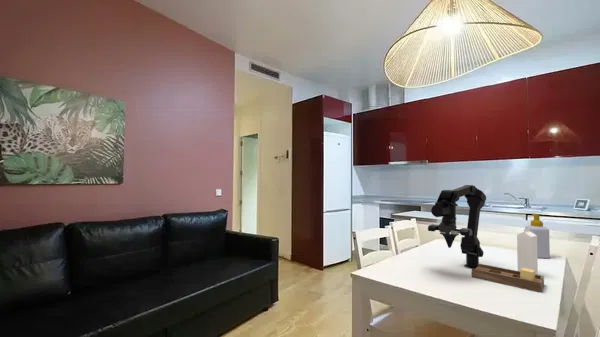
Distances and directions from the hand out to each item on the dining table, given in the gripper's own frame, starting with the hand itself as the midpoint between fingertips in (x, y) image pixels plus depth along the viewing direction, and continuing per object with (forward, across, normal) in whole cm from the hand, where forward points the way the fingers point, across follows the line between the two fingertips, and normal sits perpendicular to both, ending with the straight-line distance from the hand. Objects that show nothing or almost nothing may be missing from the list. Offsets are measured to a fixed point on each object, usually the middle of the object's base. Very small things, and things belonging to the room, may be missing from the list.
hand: (449, 247), depth 138 cm
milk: (+13, +27, +27) cm, 40 cm away
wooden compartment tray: (+12, +22, +8) cm, 26 cm away
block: (+10, +29, +5) cm, 31 cm away
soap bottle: (+13, +27, +70) cm, 76 cm away
